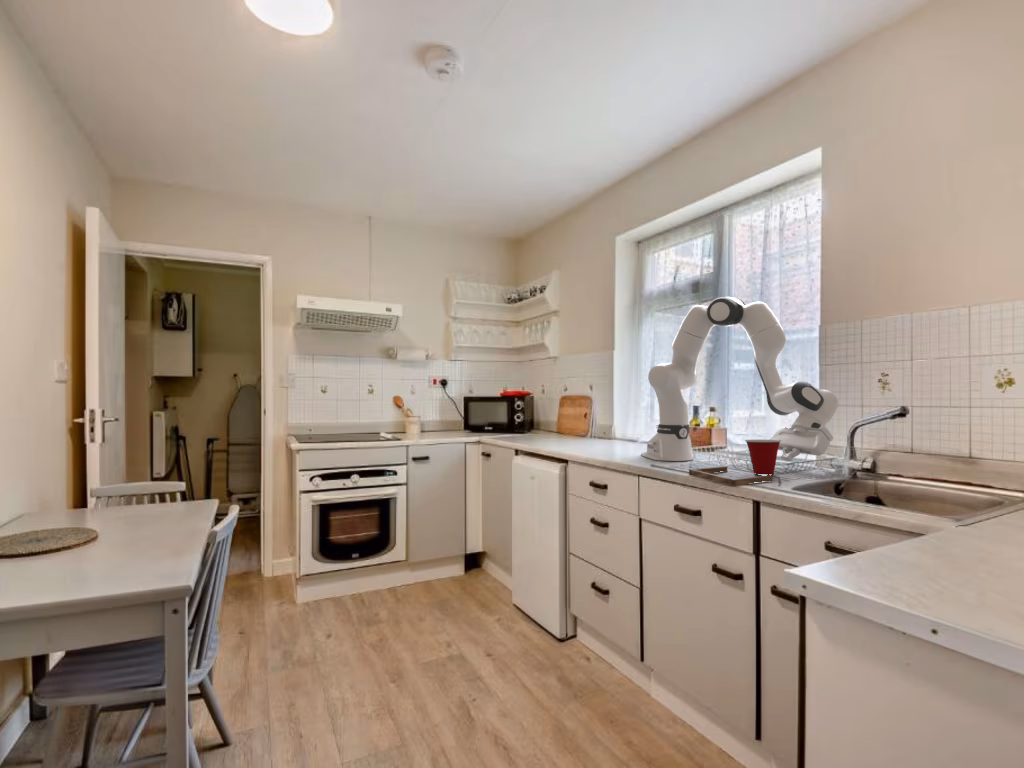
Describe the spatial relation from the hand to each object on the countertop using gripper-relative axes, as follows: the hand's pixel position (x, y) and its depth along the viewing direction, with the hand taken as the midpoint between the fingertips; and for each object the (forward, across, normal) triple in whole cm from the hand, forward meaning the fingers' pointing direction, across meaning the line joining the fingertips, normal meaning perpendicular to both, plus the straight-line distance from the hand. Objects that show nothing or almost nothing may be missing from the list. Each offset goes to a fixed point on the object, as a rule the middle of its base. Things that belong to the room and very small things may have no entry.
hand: (785, 459), depth 171 cm
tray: (+20, 0, -14) cm, 24 cm away
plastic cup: (+10, 0, -4) cm, 11 cm away
